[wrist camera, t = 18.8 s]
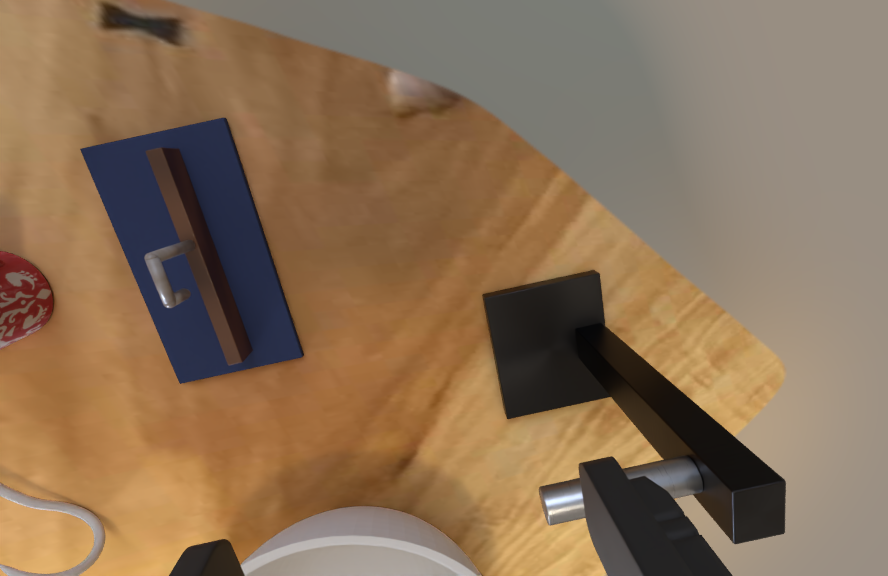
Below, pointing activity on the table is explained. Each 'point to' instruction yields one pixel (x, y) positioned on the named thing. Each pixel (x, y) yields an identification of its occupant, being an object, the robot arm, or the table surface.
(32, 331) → the mug
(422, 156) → the table surface
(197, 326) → the mat
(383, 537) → the bowl
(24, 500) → the hook
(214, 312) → the hanger
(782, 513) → the coat stand
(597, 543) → the robot arm
